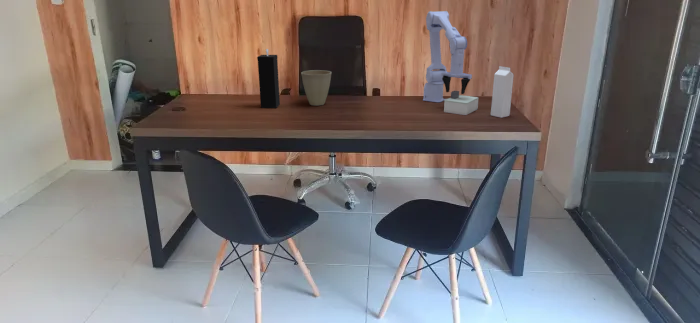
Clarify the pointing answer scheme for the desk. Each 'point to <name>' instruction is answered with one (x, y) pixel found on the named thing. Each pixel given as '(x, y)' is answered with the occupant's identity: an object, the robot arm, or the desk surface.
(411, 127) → the desk surface
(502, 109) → the milk
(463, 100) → the lid
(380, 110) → the desk surface
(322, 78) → the plant pot
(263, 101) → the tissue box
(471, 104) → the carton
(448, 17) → the robot arm
